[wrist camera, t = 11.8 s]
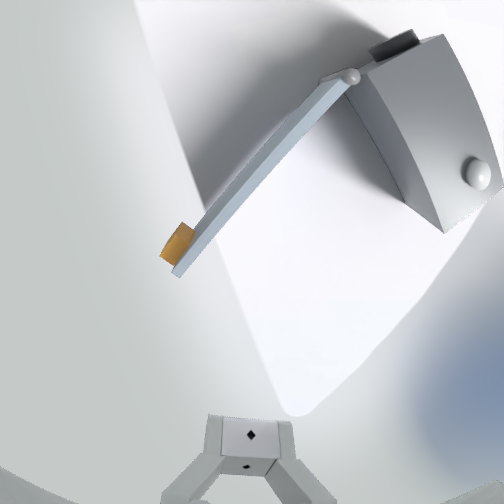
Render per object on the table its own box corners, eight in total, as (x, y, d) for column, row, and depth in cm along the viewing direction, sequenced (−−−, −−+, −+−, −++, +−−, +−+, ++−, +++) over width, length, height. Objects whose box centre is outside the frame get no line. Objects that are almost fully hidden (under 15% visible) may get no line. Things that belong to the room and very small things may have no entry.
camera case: (328, 70, 23) (360, 56, 15) (393, 35, 21) (440, 18, 13) (406, 204, 28) (449, 237, 21) (459, 166, 26) (509, 189, 19)
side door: (314, 65, 22) (337, 51, 16) (334, 83, 23) (364, 76, 17) (174, 229, 29) (153, 266, 23) (193, 243, 30) (178, 284, 23)
